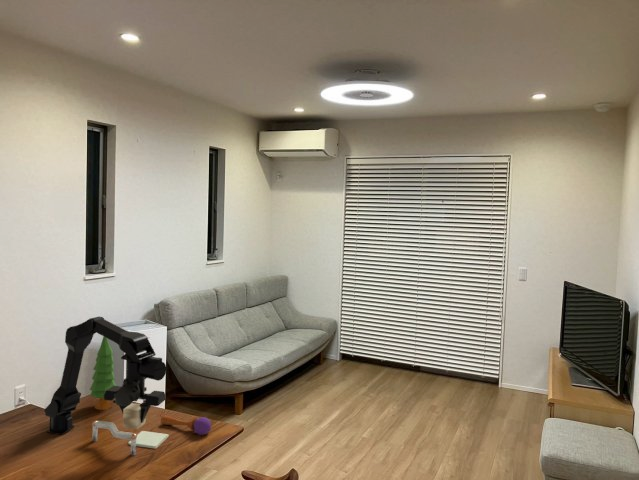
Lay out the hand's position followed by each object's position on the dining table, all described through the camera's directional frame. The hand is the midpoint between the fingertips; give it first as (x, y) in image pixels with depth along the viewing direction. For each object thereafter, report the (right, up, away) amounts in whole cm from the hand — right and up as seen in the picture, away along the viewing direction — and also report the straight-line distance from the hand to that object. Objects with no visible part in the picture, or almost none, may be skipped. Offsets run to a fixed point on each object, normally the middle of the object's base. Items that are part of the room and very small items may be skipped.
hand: (134, 421), depth 164 cm
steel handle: (-9, -10, +5) cm, 14 cm away
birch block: (0, -1, 0) cm, 1 cm away
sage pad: (+1, -10, +10) cm, 15 cm away
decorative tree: (-26, -7, +36) cm, 45 cm away
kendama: (+11, -11, +20) cm, 25 cm away
